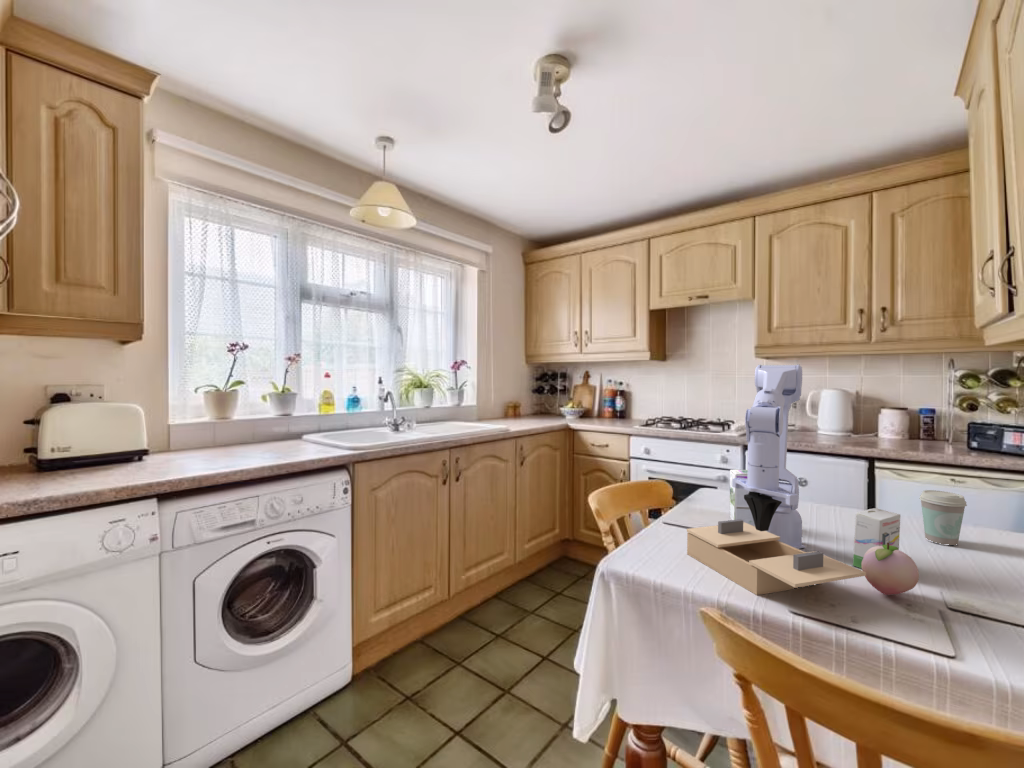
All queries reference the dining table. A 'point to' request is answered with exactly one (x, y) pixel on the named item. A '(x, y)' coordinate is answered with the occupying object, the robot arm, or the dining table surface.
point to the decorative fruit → (890, 570)
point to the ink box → (874, 531)
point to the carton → (742, 562)
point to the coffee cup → (942, 515)
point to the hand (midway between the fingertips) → (762, 529)
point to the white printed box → (739, 499)
